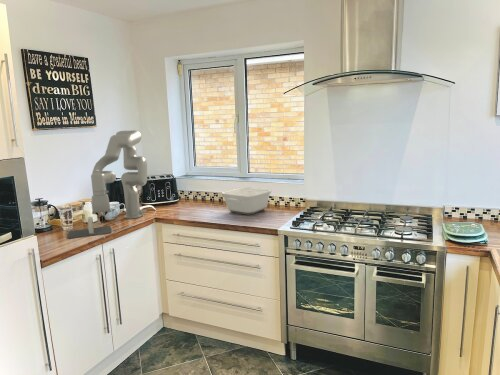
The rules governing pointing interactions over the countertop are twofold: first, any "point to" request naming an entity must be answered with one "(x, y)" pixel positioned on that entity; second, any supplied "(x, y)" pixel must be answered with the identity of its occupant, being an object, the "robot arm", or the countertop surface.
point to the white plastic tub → (246, 200)
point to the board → (90, 225)
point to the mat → (86, 232)
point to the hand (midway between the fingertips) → (102, 222)
